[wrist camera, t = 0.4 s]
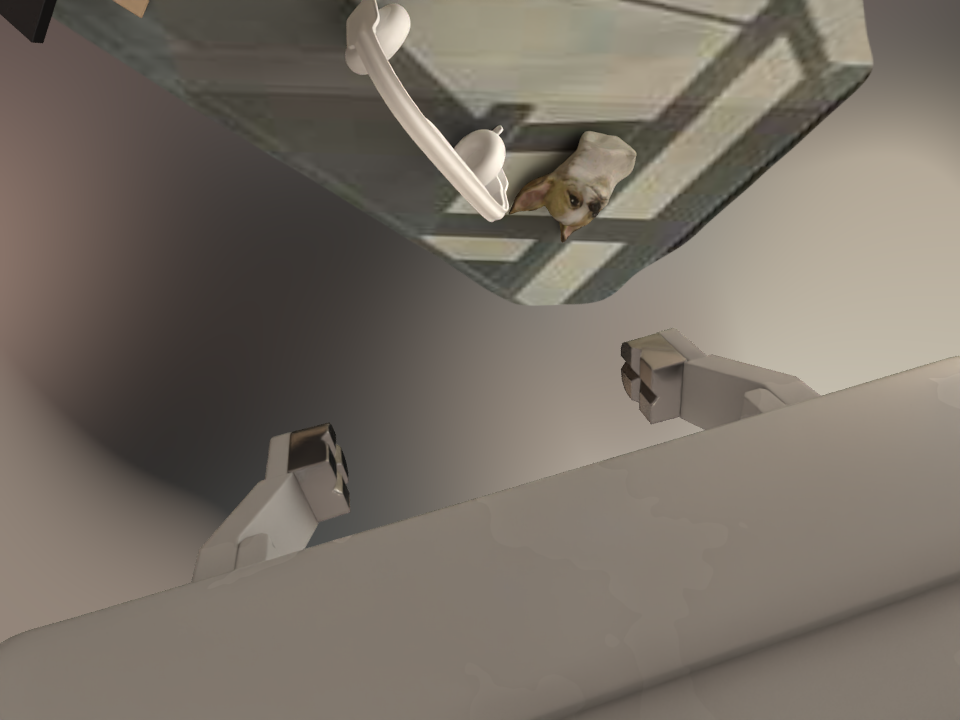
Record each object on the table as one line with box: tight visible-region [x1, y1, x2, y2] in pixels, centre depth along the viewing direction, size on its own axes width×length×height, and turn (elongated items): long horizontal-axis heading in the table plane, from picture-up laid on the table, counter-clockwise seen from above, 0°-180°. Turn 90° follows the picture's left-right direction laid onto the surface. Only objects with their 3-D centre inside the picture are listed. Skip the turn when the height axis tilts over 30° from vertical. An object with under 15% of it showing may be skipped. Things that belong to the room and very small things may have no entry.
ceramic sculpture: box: [509, 131, 637, 242], centre depth 65 cm, size 11×9×15 cm
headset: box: [345, 0, 509, 222], centre depth 50 cm, size 20×7×18 cm, turn 36°
